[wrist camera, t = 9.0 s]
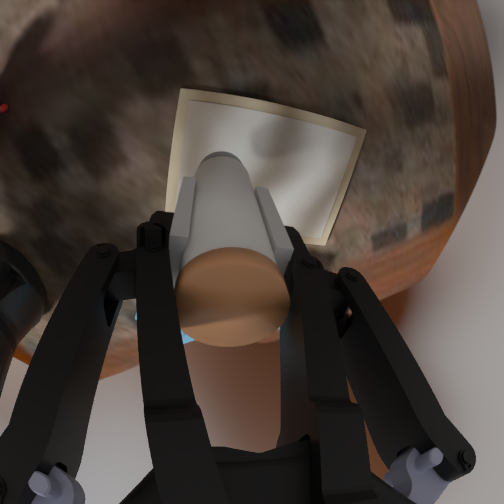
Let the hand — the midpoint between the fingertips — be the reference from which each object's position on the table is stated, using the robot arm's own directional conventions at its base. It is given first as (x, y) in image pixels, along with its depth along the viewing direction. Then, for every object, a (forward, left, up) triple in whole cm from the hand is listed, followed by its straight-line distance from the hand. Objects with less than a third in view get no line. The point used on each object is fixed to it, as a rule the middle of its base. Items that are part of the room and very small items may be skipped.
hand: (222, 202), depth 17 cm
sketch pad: (+5, -1, -10) cm, 12 cm away
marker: (0, 0, -5) cm, 5 cm away
